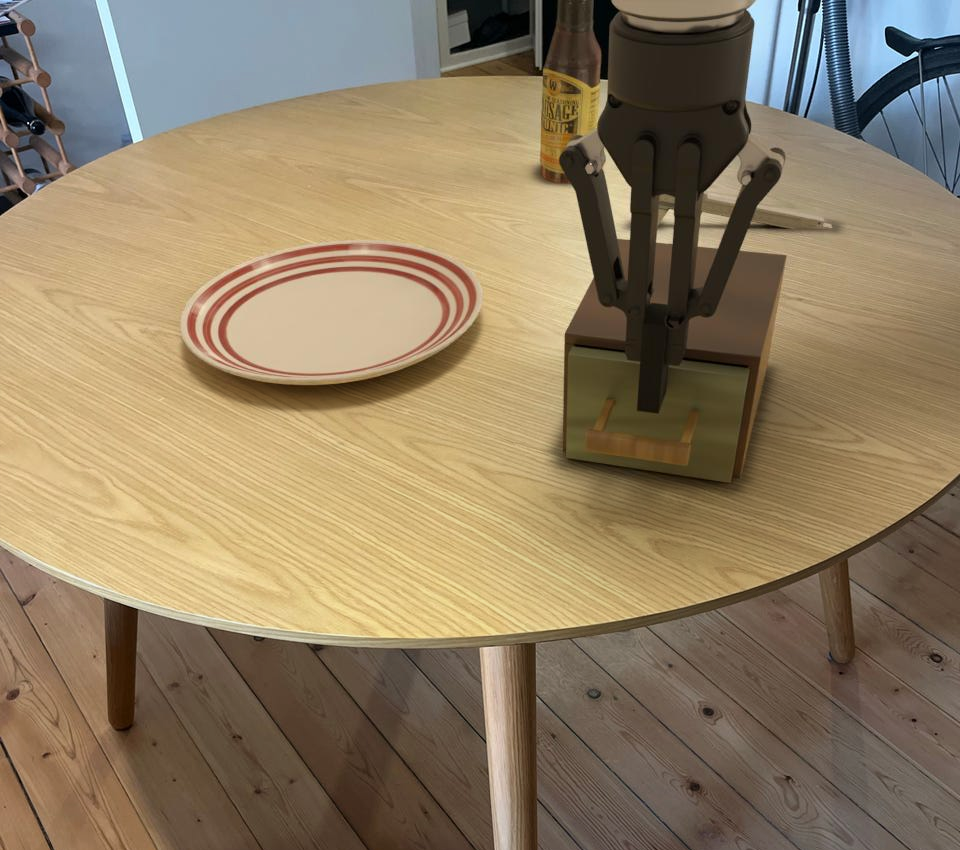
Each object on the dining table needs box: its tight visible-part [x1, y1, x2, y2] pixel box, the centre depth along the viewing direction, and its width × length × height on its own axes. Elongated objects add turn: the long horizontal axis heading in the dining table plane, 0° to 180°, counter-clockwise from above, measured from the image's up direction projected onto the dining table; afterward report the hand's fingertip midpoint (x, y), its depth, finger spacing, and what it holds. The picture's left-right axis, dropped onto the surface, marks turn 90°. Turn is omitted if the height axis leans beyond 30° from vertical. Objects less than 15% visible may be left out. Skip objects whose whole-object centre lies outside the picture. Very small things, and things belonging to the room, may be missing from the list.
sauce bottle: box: [539, 0, 602, 184], centre depth 110 cm, size 6×6×20 cm
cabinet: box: [562, 238, 788, 479], centre depth 79 cm, size 16×14×11 cm
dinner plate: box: [179, 239, 484, 386], centre depth 93 cm, size 28×27×3 cm
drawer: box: [565, 346, 750, 484], centre depth 76 cm, size 20×12×9 cm, turn 162°
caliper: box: [657, 189, 833, 230], centre depth 104 cm, size 20×1×6 cm, turn 83°
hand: (651, 401), depth 70 cm, fingers closed
